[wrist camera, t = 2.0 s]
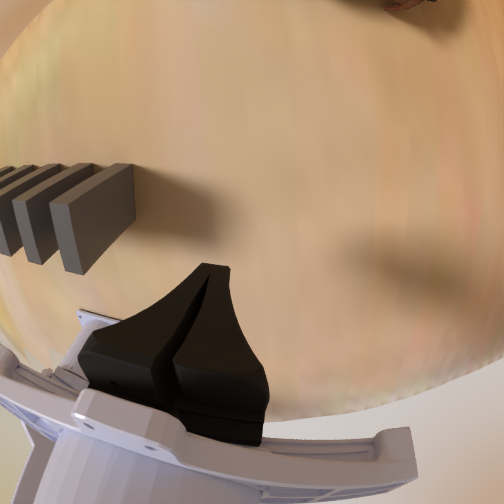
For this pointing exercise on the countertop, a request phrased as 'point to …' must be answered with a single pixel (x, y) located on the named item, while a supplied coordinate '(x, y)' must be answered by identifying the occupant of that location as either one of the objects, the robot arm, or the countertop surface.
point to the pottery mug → (403, 4)
